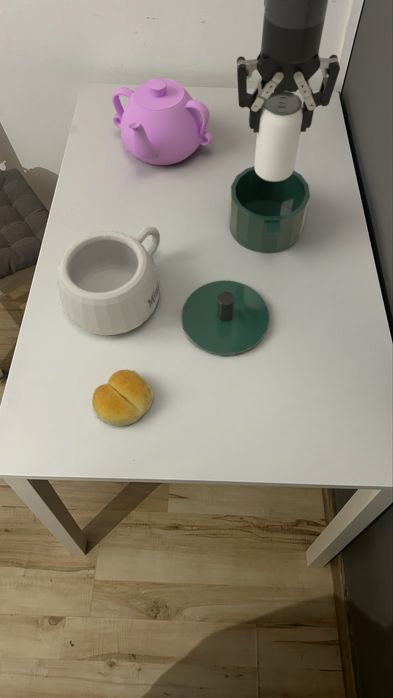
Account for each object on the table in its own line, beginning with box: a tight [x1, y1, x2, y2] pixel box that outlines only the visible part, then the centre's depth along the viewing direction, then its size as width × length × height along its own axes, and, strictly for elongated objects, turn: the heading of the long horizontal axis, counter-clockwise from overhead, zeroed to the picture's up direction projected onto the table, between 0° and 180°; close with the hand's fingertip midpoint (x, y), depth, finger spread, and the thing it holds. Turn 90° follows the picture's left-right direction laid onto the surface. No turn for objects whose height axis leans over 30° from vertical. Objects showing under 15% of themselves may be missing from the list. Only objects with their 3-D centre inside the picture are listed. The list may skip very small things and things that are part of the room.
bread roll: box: [91, 369, 154, 427], centre depth 76 cm, size 8×9×4 cm
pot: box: [229, 165, 311, 254], centre depth 91 cm, size 14×19×8 cm
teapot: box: [111, 78, 214, 166], centre depth 99 cm, size 22×22×14 cm
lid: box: [181, 280, 270, 356], centre depth 82 cm, size 15×15×6 cm
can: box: [253, 91, 303, 182], centre depth 77 cm, size 6×6×12 cm
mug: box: [56, 226, 161, 336], centre depth 83 cm, size 21×17×10 cm
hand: (279, 128), depth 76 cm, fingers closed on can, 6 cm apart
